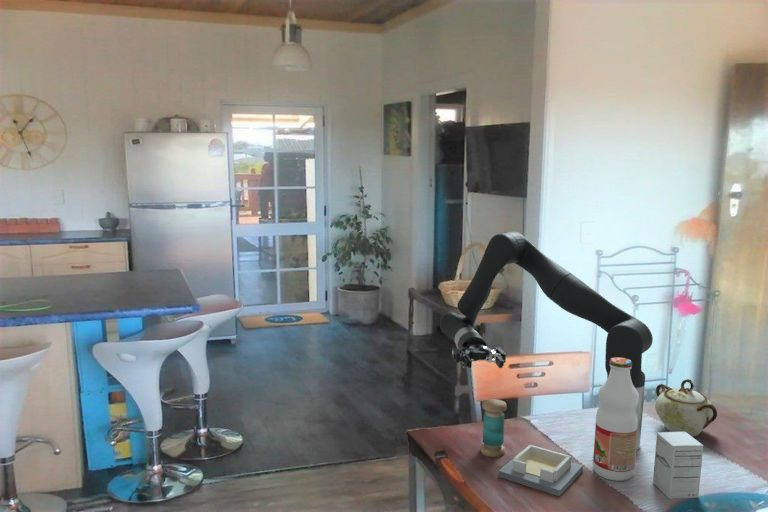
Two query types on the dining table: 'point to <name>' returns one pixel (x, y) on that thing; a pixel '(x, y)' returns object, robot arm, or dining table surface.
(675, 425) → the sugar bowl
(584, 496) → the dining table surface
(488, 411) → the spool
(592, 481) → the dining table surface
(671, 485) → the supplement box
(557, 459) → the white grey square tray
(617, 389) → the fruit juice
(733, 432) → the dining table surface
